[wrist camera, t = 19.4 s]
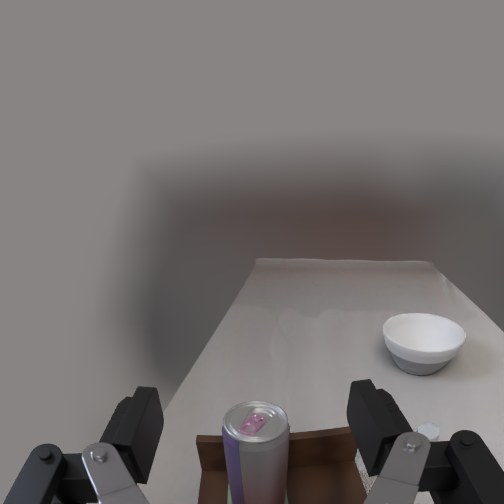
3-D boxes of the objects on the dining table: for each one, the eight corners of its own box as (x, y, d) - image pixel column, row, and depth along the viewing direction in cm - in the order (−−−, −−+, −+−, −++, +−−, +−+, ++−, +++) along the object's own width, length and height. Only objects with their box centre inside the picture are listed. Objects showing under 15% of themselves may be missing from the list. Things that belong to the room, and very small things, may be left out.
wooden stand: (199, 548, 24) (183, 512, 22) (206, 480, 36) (196, 434, 34) (368, 534, 25) (389, 494, 22) (348, 470, 36) (359, 424, 34)
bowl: (362, 353, 69) (366, 321, 67) (423, 336, 73) (428, 307, 71) (410, 397, 51) (419, 361, 49) (473, 369, 55) (482, 336, 53)
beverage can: (222, 512, 27) (207, 428, 24) (248, 480, 32) (242, 393, 29) (270, 530, 24) (271, 451, 21) (292, 495, 29) (300, 408, 26)
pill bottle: (413, 451, 37) (427, 416, 36) (433, 465, 33) (449, 430, 32) (394, 465, 35) (407, 430, 34) (414, 480, 32) (430, 446, 30)
